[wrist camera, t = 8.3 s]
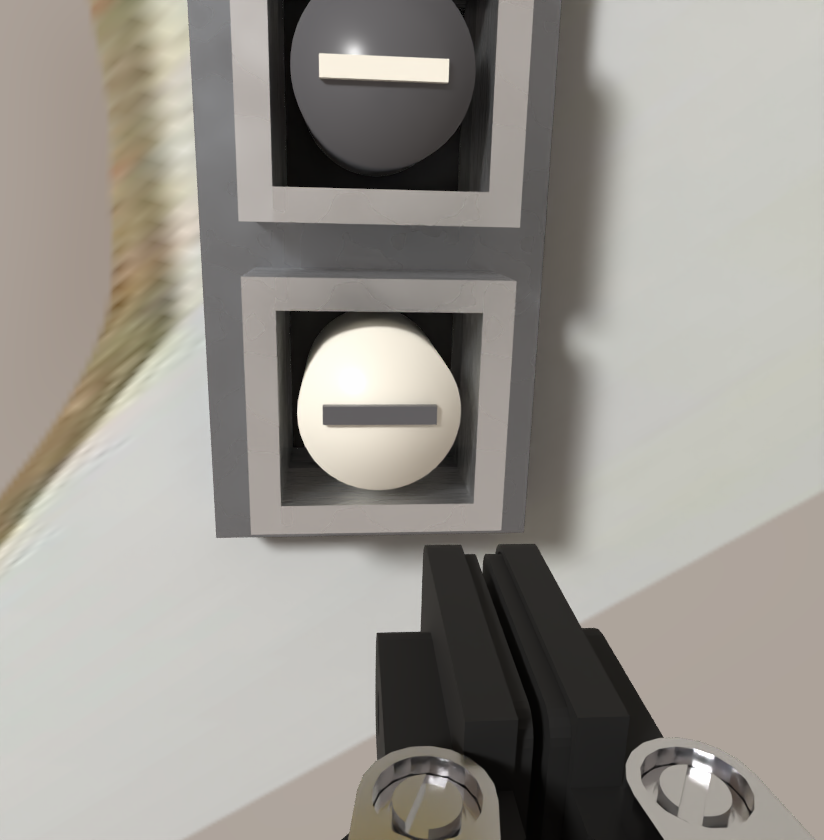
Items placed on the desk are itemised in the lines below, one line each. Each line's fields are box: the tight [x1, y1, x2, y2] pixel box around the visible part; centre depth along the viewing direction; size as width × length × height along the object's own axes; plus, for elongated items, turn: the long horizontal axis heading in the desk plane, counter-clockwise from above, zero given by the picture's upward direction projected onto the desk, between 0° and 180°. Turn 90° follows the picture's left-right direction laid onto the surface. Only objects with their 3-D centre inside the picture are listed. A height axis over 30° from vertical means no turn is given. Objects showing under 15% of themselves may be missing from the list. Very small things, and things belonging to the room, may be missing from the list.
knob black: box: [290, 0, 476, 176], centre depth 23 cm, size 5×5×6 cm
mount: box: [187, 0, 561, 538], centre depth 25 cm, size 12×22×6 cm, turn 179°
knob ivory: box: [297, 311, 461, 490], centre depth 26 cm, size 5×5×6 cm
